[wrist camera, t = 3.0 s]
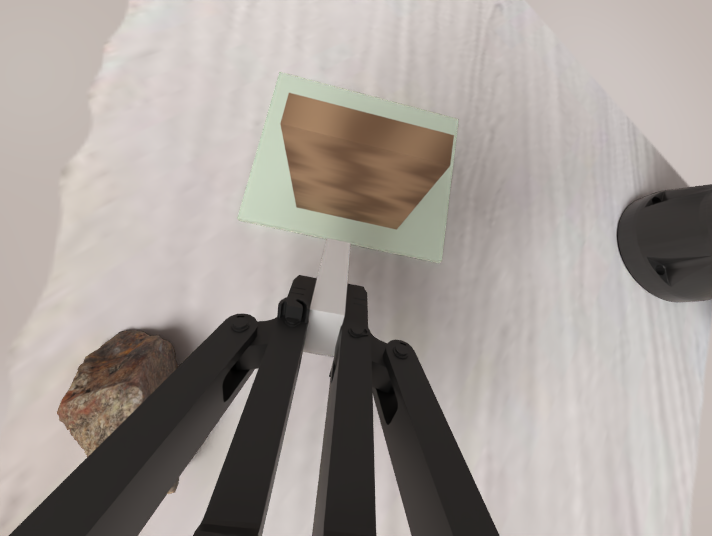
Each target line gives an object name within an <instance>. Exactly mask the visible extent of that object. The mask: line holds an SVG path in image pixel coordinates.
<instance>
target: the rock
mask: <svg viewBox="0 0 712 536" xmlns="http://www.w3.org/2000/svg"><path fill="white" fill-rule="evenodd" d="M174 357H175V351H174V348H173V346H172V344H171V343H170V342H168V341H167V340H162V338H161V337H160V336H159V335H151V336H149V335H148V334H146V333H145V332H143V331H136V330H129V331H122V332H119V333H118V334H117V335H115V336H114V337H113V338H112V339H110V340H109V341H108V342H106V343H105V344H104V345H102V346H101V347H100V348H99V349H98V350H96V351H94V352H92V353H91V354H89V355H88V356H86V357H85V360H84V363H82V364H81V365H80V366H79V368H78V372H77V374H76V376H75V378H74V380H73V382H72V384H71V386H70V388H69V390H68V392H67V393H66V395H65V396H64V397H63V399H62V401H61V403H60V405H59V408H58V411H57V414H58V415H59V421H61V422H63V423H64V424H65V426H66V428H67V430H69V429H70V433H71V435H72V436H73V437H74V439H75V440H77V442H78V444H79V445H80V446H81V448H83V449H84V450H85V453H86V455H87V457H88V456H89V455H90V454H91V453H92V452H93V451H94V450H95V449H96V448H97V447H98V446H99V445H100V444H101V443H102V442H103V441H104V440H105V439H106V438H107V437H108V436H109V435H110V434H111V433H112V432H113V431H114V430H115V429H116V428H117V427H118V426H119V425H120V424H121V423H122V422H123V421H124V420H126V419H127V418H128V417H129V416H130V415H131V414H132V413H133V412H134V411H135V410H136V409H137V408H138V407H139V406H140V405H141V404H142V403H143V402H144V401H145V400H146V399H147V398H148V397H149V396H150V395H151V394H152V393H153V392H154V391H155V390H156V389H157V388H158V387H159V386H160V385H161V384H162V383H163V382H164V381H165V380H166V379H167V378H168V377H169V376H170V375H171V374H172V373H173V372H174V371H175V370H176V369H177V368H178V367H177V362H176V360H175V358H174ZM178 481H179V478H178V479H177V481H176V482H175V483H174V485H173V486H172V488H171V489H170V490H169V492H168V493H167V494H171V493H174V492H175V491H176V489H177V486H178Z"/></svg>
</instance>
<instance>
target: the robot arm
mask: <svg viewBox="0 0 712 536" xmlns="http://www.w3.org/2000/svg"><path fill="white" fill-rule="evenodd" d="M618 243H619V248H620V252H621V255H622V258H623V260H624V262H625V265H626V266H627V268H628V270H629V272H630V273H631V274H632V276H633V277H634V278H635V280H636V281H637V282H638V283H639V284H640V285H641V286H642V287H643V288H645V289H646V290H647V291H648V292H650V293H651V294H653V295H655V296H657V297H659V298H661V299H664V300H667V301H671V302H695V301H704V300H710V299H712V185H703V186H695V187H687V188H679V189H671V190H664V191H660V192H656V193H654V194H651V195H648V196H646V197H643V198H640V199H638V200H636V201H634V202H633V203H632V204H630V205H629V206H628V207H627V208H626V210H625V211H624V213H623V215H622V217H621V219H620V223H619V227H618ZM350 245H351V243H349V242H344V241H339V240H334V239H329V238H327V240H326V244H325V248H324V252H323V256H322V260H321V264H320V269H319V273H318V277H317V278H312V277H307V276H302V275H299V276H298V277H297V278H295V279H294V280H293V283H292V286H291V288H290V291H289V294H288V297H287V298H284V299H283V300H281V301H280V303H279V305H278V316H277V317H276V318H275V319H272V320H269V321H259V322H257V321H256V319H255V318H254V317H252V316H251V315H248V314H236V315H233V316H230V317H229V318H227V319H226V320H225V321H224V322H223V323H222V324H221V325H220V326H219V327H218V328H217V329H216V330H215V331H214V332H213V333H212V334H211V335H210V336H209V337H208V338H207V339H206V340H205V341H204V342H203V343H202V344H201V345H200V346H199V347H198V348H197V349H196V350H195V351H194V352H193V353H192V354H191V355H190V356H189V357H188V358H187V359H186V360H185V361H184V362H183V363H182V364H181V365H180V366H179V367H178V368H177V369H176V370H175V371H174V372H173V373H172V374H171V375H170V376H169V377H168V378H167V379H166V380H165V381H164V382H163V383H162V384H161V385H160V386H159V387H158V388H157V389H156V390H155V391H154V392H153V393H152V394H151V395H150V396H149V397H148V398H147V399H146V400H145V401H144V402H143V403H142V404H141V405H140V406H139V407H138V408H137V409H136V410H135V411H134V412H133V413H132V414H131V415H130V416H129V417H128V418H127V419H126V420H124V421H123V422H122V423H121V424H120V425H119V426H118V427H117V428H116V429H115V430H114V431H113V432H112V433H111V434H110V435H109V436H108V437H107V438H106V439H105V440H104V441H103V442H102V443H101V444H100V445H99V446H98V447H97V448H96V449H95V450H94V451H93V452H92V453H91V454H90V455H89V456H88V457H87V458H86V459H85V460H84V461H83V462H82V463H81V464H80V465H79V466H78V467H77V468H76V469H75V470H74V471H73V472H72V473H71V474H70V475H69V476H68V477H67V478H66V479H65V480H64V481H63V482H62V483H61V484H60V485H59V486H58V487H57V488H56V489H55V490H54V491H53V492H52V493H51V494H50V495H49V496H48V497H47V498H46V499H45V500H44V501H43V502H42V503H41V504H40V505H39V506H38V507H37V508H36V509H35V510H34V511H33V512H32V513H31V514H30V515H29V516H28V517H27V518H26V519H25V520H24V521H23V522H22V523H21V524H20V525H19V526H18V527H17V528H16V529H15V530H14V531H13V532H12V533H11V534H10V535H9V536H138V534H139V533H140V532H141V530H142V529H143V527H144V526H145V525H146V523H147V522H148V520H149V519H150V517H151V516H152V515H153V513H154V512H155V510H156V509H157V507H158V506H159V505H160V503H161V502H162V500H163V499H164V498H165V496H166V495H167V493H168V492H169V490H170V489H171V488H172V486H173V485H174V483H175V482H176V481H177V479H178V478H179V476H180V475H181V473H182V472H183V471H184V469H185V468H186V466H187V465H188V463H189V462H190V461H191V459H192V458H193V456H194V455H195V454H196V452H197V451H198V449H199V448H200V446H201V445H202V444H203V442H204V441H205V439H206V438H207V437H208V435H209V434H210V432H211V431H212V429H213V428H214V427H215V425H216V424H217V422H218V421H219V419H220V418H221V417H222V415H223V414H224V412H225V411H226V410H227V408H228V407H229V405H230V404H231V402H232V401H233V400H234V398H235V397H236V395H237V394H238V393H239V391H240V390H241V388H242V387H243V385H244V384H245V383H246V381H247V380H248V378H249V377H250V376H251V374H252V373H253V371H254V369H257V368H259V369H258V372H257V375H256V377H255V380H254V383H253V385H252V388H251V391H250V394H249V396H248V399H247V402H246V405H245V407H244V410H243V413H242V415H241V418H240V421H239V424H238V426H237V429H236V432H235V434H234V437H233V440H232V443H231V445H230V448H229V451H228V453H227V456H226V459H225V462H224V464H223V467H222V470H221V472H220V475H219V478H218V481H217V483H216V486H215V489H214V492H213V494H212V497H211V500H210V502H209V505H208V508H207V511H206V513H205V516H204V518H203V520H202V522H201V524H200V525H199V527H198V528H197V529H196V531H195V533H194V535H193V536H262V533H263V528H264V524H265V519H266V515H267V511H268V506H269V502H270V497H271V493H272V488H273V484H274V479H275V475H276V470H277V466H278V461H279V457H280V453H281V448H282V444H283V439H284V435H285V430H286V426H287V421H288V417H289V412H290V408H291V403H292V399H293V395H294V390H295V386H296V381H297V377H298V372H299V368H300V363H301V358H302V353H303V352H307V353H313V354H319V355H325V356H331V357H334V361H333V364H332V368H331V372H330V375H329V377H331V378H330V387H329V395H328V404H327V413H326V421H325V430H324V438H323V447H322V455H321V464H320V473H319V481H318V490H317V498H316V507H315V515H314V524H313V533H312V536H376V513H375V474H374V435H373V396H374V400H375V403H376V407H377V411H378V414H379V418H380V422H381V425H382V429H383V433H384V436H385V440H386V444H387V447H388V451H389V455H390V458H391V462H392V465H393V469H394V473H395V476H396V480H397V484H398V487H399V491H400V495H401V498H402V502H403V506H404V509H405V513H406V517H407V520H408V524H409V528H410V531H411V535H412V536H499V534H498V531H497V529H496V527H495V525H494V523H493V521H492V518H491V516H490V514H489V512H488V510H487V508H486V505H485V503H484V501H483V499H482V497H481V494H480V492H479V490H478V488H477V486H476V484H475V481H474V479H473V477H472V475H471V473H470V471H469V468H468V466H467V464H466V462H465V460H464V458H463V455H462V453H461V451H460V449H459V447H458V445H457V442H456V440H455V438H454V436H453V434H452V431H451V429H450V427H449V425H448V423H447V421H446V418H445V416H444V414H443V412H442V410H441V408H440V405H439V403H438V401H437V399H436V397H435V395H434V392H433V390H432V388H431V386H430V384H429V382H428V379H427V377H426V375H425V373H424V371H423V369H422V366H421V364H420V362H419V360H418V358H417V355H416V353H415V351H414V350H413V348H412V347H411V346H410V345H409V344H408V343H406V342H404V341H401V340H392V341H390V342H389V343H388V344H387V343H385V342H383V341H380V340H378V339H377V338H375V337H374V336H373V335H372V334H371V333H370V330H369V329H368V311H367V292H366V290H365V289H364V287H362V286H357V285H352V284H347V281H348V269H349V257H350ZM372 393H373V396H372Z"/></svg>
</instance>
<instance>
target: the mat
mask: <svg viewBox="0 0 712 536" xmlns="http://www.w3.org/2000/svg"><path fill="white" fill-rule="evenodd" d="M289 93H293V94H297V95H300V96H304V97H308V98H312V99H316V100H320V101H324V102H327V103H331V104H335V105H339V106H343V107H347V108H351V109H355V110H358V111H362V112H366V113H370V114H374V115H378V116H382V117H386V118H389V119H393V120H397V121H401V122H405V123H409V124H413V125H417V126H420V127H424V128H428V129H432V130H436V131H440V132H444V133H447V134H451V135H454V139H453V148H452V156H451V164H450V167H449V168H448V169H447V170H446V171H445V173H444V174H443V175H442V176H441V177H440V179H439V180H438V181H437V182H436V183H435V185H434V186H433V187H432V188H431V189H430V190H429V192H428V193H427V194H426V195H425V196H424V198H423V199H422V200H421V201H420V202H419V204H418V205H417V206H416V207H415V208H414V210H413V211H412V212H411V213H410V214H409V215H408V217H407V218H406V219H405V220H404V221H403V223H402V224H401V225H400V226H399V227H398V229H397V230H396V229H392V228H387V227H382V226H378V225H373V224H369V223H364V222H360V221H355V220H351V219H346V218H342V217H337V216H333V215H328V214H324V213H319V212H315V211H310V210H306V209H301V208H297V207H296V202H295V197H294V192H293V187H292V182H291V177H290V171H289V166H288V161H287V156H286V151H285V145H284V140H283V135H282V130H281V125H280V123H281V119H282V116H283V112H284V108H285V105H286V101H287V97H288V94H289ZM458 121H459V119H456V118H452V117H448V116H445V115H441V114H437V113H433V112H430V111H426V110H422V109H418V108H414V107H411V106H407V105H403V104H399V103H395V102H392V101H388V100H384V99H380V98H377V97H373V96H369V95H365V94H361V93H358V92H354V91H350V90H346V89H342V88H339V87H335V86H331V85H327V84H324V83H320V82H316V81H312V80H308V79H305V78H301V77H297V76H293V75H290V74H286V73H282V72H279V76H278V79H277V83H276V86H275V90H274V93H273V97H272V100H271V103H270V107H269V110H268V114H267V117H266V121H265V124H264V128H263V131H262V135H261V138H260V141H259V145H258V148H257V152H256V155H255V159H254V162H253V166H252V169H251V173H250V176H249V180H248V183H247V186H246V190H245V193H244V197H243V200H242V204H241V207H240V211H239V214H238V220H239V221H243V222H248V223H252V224H257V225H262V226H266V227H271V228H276V229H280V230H285V231H290V232H294V233H299V234H304V235H309V236H313V237H318V238H323V239H327V238H329V239H334V240H339V241H344V242H349V243H351V245H355V246H360V247H365V248H370V249H374V250H379V251H384V252H388V253H393V254H398V255H402V256H407V257H412V258H416V259H421V260H426V261H430V262H435V263H441V262H442V255H443V247H444V238H445V230H446V222H447V213H448V205H449V196H450V188H451V180H452V171H453V163H454V154H455V146H456V138H457V129H458Z"/></svg>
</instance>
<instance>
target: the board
mask: <svg viewBox="0 0 712 536" xmlns="http://www.w3.org/2000/svg"><path fill="white" fill-rule="evenodd" d="M280 125H281V130H282V135H283V140H284V145H285V151H286V156H287V161H288V166H289V171H290V177H291V182H292V187H293V192H294V197H295V202H296V207H297V208H301V209H306V210H310V211H315V212H319V213H324V214H328V215H333V216H337V217H342V218H346V219H351V220H355V221H360V222H364V223H369V224H373V225H378V226H382V227H387V228H392V229H396V230H397V229H398V227H399V226H400V225H401V224H402V223H403V221H404V220H405V219H406V218H407V217H408V215H409V214H410V213H411V212H412V211H413V210H414V208H415V207H416V206H417V205H418V204H419V202H420V201H421V200H422V199H423V198H424V196H425V195H426V194H427V193H428V192H429V190H430V189H431V188H432V187H433V186H434V185H435V183H436V182H437V181H438V180H439V179H440V177H441V176H442V175H443V174H444V173H445V171H446V170H447V169H448V168H449V167H450V164H451V156H452V148H453V139H454V135H451V134H447V133H444V132H440V131H436V130H432V129H428V128H424V127H420V126H417V125H413V124H409V123H405V122H401V121H397V120H393V119H389V118H386V117H382V116H378V115H374V114H370V113H366V112H362V111H358V110H355V109H351V108H347V107H343V106H339V105H335V104H331V103H327V102H324V101H320V100H316V99H312V98H308V97H304V96H300V95H297V94H293V93H289V94H288V97H287V101H286V105H285V108H284V112H283V116H282V119H281V123H280Z"/></svg>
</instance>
